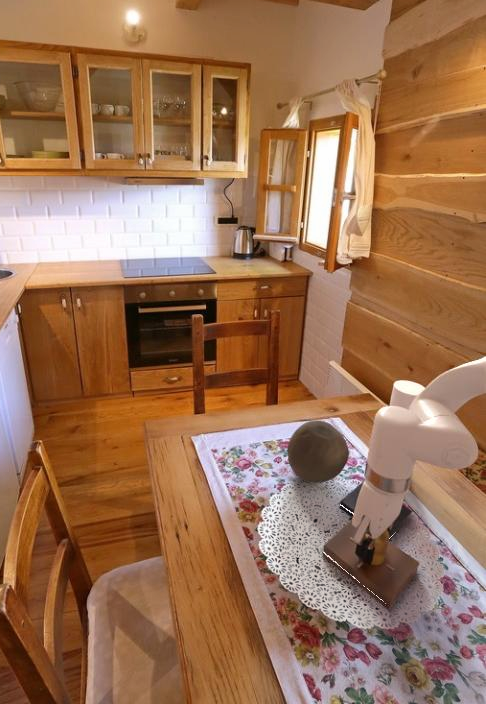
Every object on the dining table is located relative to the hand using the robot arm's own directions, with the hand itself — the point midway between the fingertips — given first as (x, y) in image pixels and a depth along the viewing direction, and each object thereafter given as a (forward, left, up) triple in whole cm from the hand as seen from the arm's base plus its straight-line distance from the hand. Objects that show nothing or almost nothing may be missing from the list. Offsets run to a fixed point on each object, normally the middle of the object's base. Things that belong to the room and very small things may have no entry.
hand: (371, 549), depth 78 cm
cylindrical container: (+10, -29, -4) cm, 31 cm away
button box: (+6, -13, -4) cm, 15 cm away
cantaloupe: (+22, -12, -4) cm, 25 cm away
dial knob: (0, 0, -1) cm, 1 cm away
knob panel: (0, 0, -4) cm, 4 cm away
